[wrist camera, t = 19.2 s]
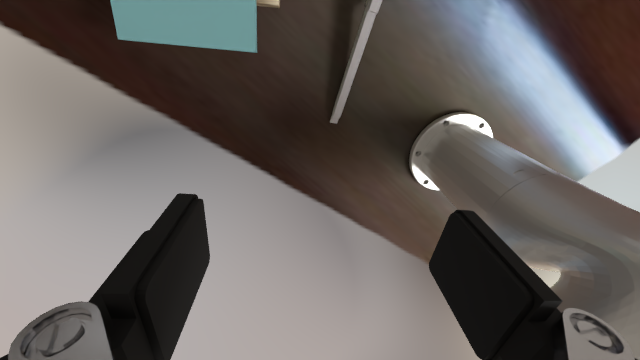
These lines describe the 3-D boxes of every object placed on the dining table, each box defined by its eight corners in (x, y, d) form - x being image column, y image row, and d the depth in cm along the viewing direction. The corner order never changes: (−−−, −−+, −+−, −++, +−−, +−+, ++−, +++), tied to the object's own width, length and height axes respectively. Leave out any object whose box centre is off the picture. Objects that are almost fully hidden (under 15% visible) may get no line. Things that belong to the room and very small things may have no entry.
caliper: (381, -70, 27) (405, -95, 21) (391, -66, 27) (417, -90, 21) (329, 121, 36) (336, 137, 31) (336, 123, 36) (345, 139, 31)
